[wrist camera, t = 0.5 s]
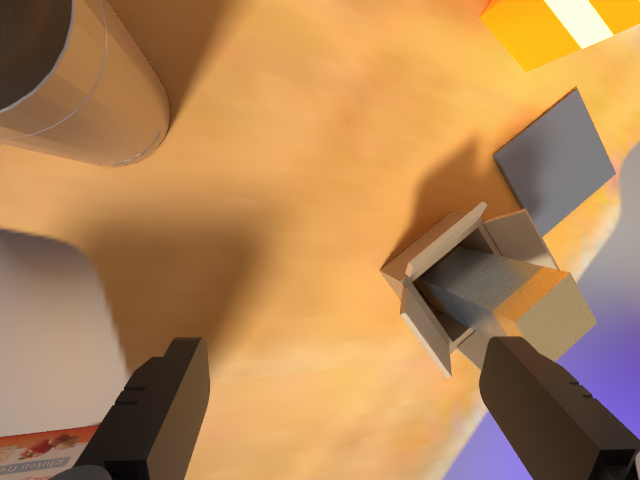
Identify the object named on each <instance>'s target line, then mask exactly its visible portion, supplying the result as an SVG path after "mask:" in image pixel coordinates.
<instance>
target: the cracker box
mask: <svg viewBox="0 0 640 480" xmlns="http://www.w3.org/2000/svg"><path fill="white" fill-rule="evenodd" d="M98 427H99V425H96V426H88V427H80V428H72V429H63V430H56V431H47V432H39V433H31V434H22V435H14V436H5V437H0V480H48V479H50V478H51V477H53V476H55V475H56V474H58V473H60V472H63V471H65V470H67V469H70V468H72V467H73V465H74V464H75V462H76V461H77V459H78V458H79V456H80V455H81V453H82V452H83V450H84V449H85V447H86V445H87V444H88V442H89V441H90V439H91V438H92V436H93V435H94V433H95V432H96V430H97V429H98Z"/></svg>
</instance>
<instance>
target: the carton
mask: <svg viewBox="0 0 640 480" xmlns="http://www.w3.org/2000/svg"><path fill="white" fill-rule="evenodd" d="M487 206H488V205H487V204H486V203H485V202H484V201H482V202H481V203H480V204H479V205H478V206H476V207H475V208H474V209H473V210H472V211H470V212H469V213H468V214H465V213H452V212H450V213H449V214H448V215H447V216H446V217H444V218H443V219H442V220H441V221H439V222H438V223H437V224H436V225H435V226H433V227H432V228H431V229H430V230H428V231H427V232H426V233H425V234H424V235H422V236H421V237H420V238H419V239H417V240H416V241H415V242H414V243H413V244H411V245H410V246H409V247H408V248H406V249H405V250H404V251H403V252H402V253H400V254H399V255H398V256H397V257H395V258H394V259H393V260H392V261H391V262H389V263H388V264H387V265H386V266H384V267H383V268H382V269H381V270H380V272H381V273H382V275H383V276H384V277H385V279H386V280H387V282H388V283H389V284H390V286H391V287H392V289H393V290H394V291H395V293H396V294H397V296H398V297H399V298H400V300H401V308H400V315H401V317H402V318H403V320H404V321H405V322H406V324H407V325H408V326H409V328H410V329H411V331H412V332H413V333H414V335H415V336H416V338H417V339H418V340H419V342H420V343H421V344H422V346H423V347H424V349H425V350H426V351H427V353H428V354H429V356H430V357H431V358H432V360H433V361H434V362H435V364H436V365H437V367H438V368H439V369H440V371H441V372H442V374H443V375H444V376H445V378H446V379H447V378H450V377H452V374H451V362H450V354H451V353H453V352H454V351H455V350H456V349H457V350H458V351H460V352H461V353H462V354H463V355H464V356H465V357H466V358H467V359H468V360H469V361H470V362H471V363H472V364H473V365H474V366H475V367H476V368H477V369H478V370H479V371H480V372H481V371H482V367H483V363H484V358H485V354H486V350H487V345H488V342H489V340H490V339H488V338H487V337H485V336H483V335H481V334H480V333H478V332H476V331H474V330H473V329H471V328H469V327H467V326H466V325H464V324H462V323H460V322H459V321H457V320H455V319H453V318H452V317H450V316H448V315H446V314H445V313H443V312H442V313H441V314H440V315H438V316H437V317H435V316H434V314H433V313H432V311H431V310H430V308H429V307H428V305H427V304H426V303H425V301H424V300H423V298H422V297H421V295H420V294H419V292H418V291H417V290H416V288H415V287H414V285H413V284H412V282H413V281H414V280H415V279H416V278H418V277H419V276H420V275H421V274H422V273H424V272H425V271H426V270H427V269H428V268H430V267H431V266H432V265H433V264H434V263H436V262H437V261H438V260H439V259H440V258H442V257H443V256H444V255H445V254H446V253H448V252H449V251H450V250H451V249H452V248H454V247H455V246H456V245H457V244H458V243H460V242H461V244H462V246H463V247H464V248H467V249H471V250H475V251H480V252H484V253H488V254H493V255H497V256H501V257H505V258H510V259H514V260H518V261H523V262H527V263H531V264H535V265H540V266H544V267H548V268H553V269H557V270H559V268H558V266H557V264H556V262H555V261H554V259H553V257H552V255H551V253H550V251H549V250H548V248H547V246H546V244H545V242H544V240H543V239H542V237H541V235H540V233H539V231H538V229H537V228H536V226H535V224H534V222H533V220H532V218H531V217H530V215H529V213H528V211H527V209H526V208H525V209H521V210H518V211H515V212H511V213H508V214H505V215H501V216H498V217H494V218H491V219H488V220H485V221H484V220H483V219H482V217H481V214H482V213H483V211H484V210H485V209H486V207H487Z"/></svg>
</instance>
